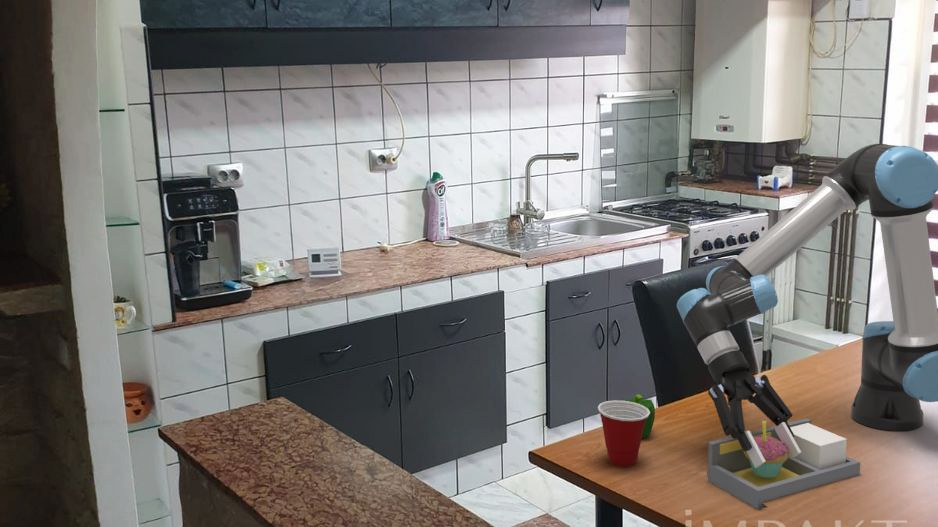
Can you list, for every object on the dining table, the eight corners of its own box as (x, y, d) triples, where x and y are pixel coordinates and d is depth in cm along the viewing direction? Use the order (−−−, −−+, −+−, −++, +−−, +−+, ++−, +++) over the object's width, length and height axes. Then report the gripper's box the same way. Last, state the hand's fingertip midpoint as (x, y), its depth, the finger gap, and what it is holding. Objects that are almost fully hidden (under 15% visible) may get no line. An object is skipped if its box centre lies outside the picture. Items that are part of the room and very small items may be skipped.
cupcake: (782, 485, 168) (784, 425, 166) (737, 476, 173) (738, 418, 170) (792, 468, 175) (794, 411, 173) (748, 460, 180) (750, 404, 177)
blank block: (806, 454, 185) (808, 422, 184) (845, 472, 176) (846, 439, 175) (781, 461, 182) (782, 429, 181) (818, 479, 173) (820, 446, 172)
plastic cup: (649, 473, 181) (650, 418, 179) (596, 470, 184) (596, 415, 181) (650, 452, 192) (650, 399, 190) (599, 450, 194) (599, 397, 192)
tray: (805, 454, 188) (807, 418, 186) (859, 479, 175) (861, 440, 174) (707, 481, 177) (708, 442, 176) (757, 509, 165) (758, 468, 163)
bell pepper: (618, 427, 207) (618, 386, 205) (654, 428, 205) (655, 387, 203) (617, 440, 199) (617, 398, 197) (654, 442, 197) (654, 399, 195)
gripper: (753, 359, 188) (808, 457, 177) (673, 375, 180) (725, 479, 169) (772, 341, 183) (830, 441, 171) (690, 357, 174) (745, 463, 163)
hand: (778, 460), depth 170 cm, fingers closed on cupcake, 8 cm apart
